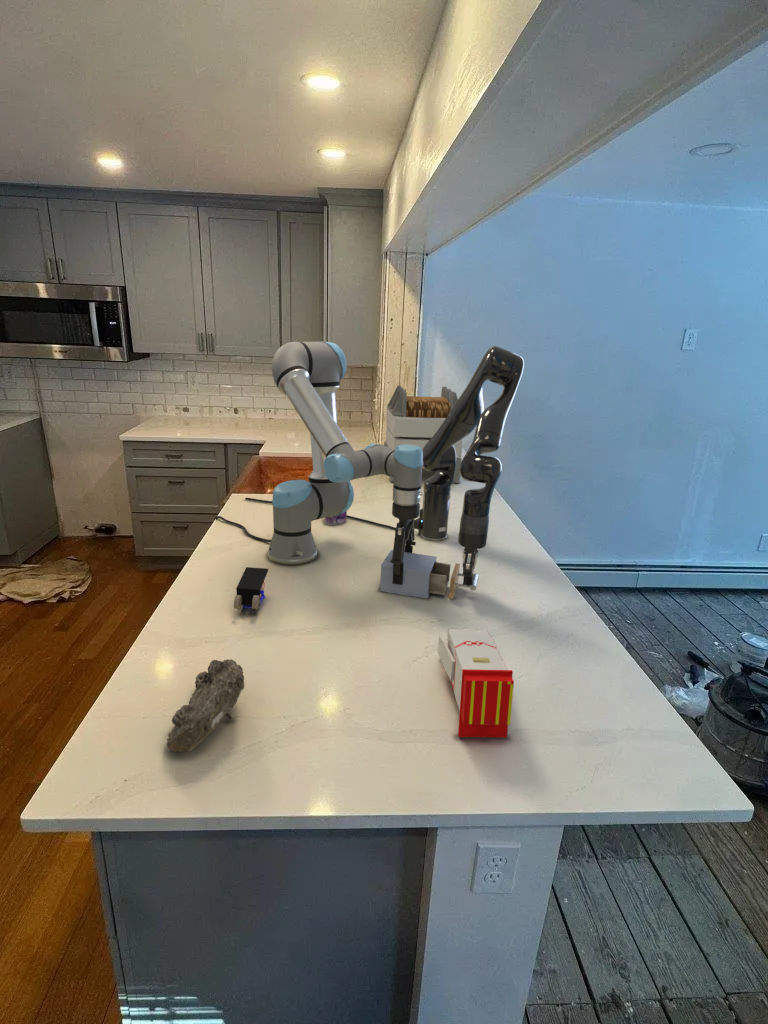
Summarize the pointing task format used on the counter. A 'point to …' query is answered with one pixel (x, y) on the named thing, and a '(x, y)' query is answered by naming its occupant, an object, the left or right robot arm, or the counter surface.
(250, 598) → the black wheeled rover
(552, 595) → the counter surface
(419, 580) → the cabinet
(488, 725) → the toy
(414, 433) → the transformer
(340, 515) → the figurine
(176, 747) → the fossil
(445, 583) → the drawer
